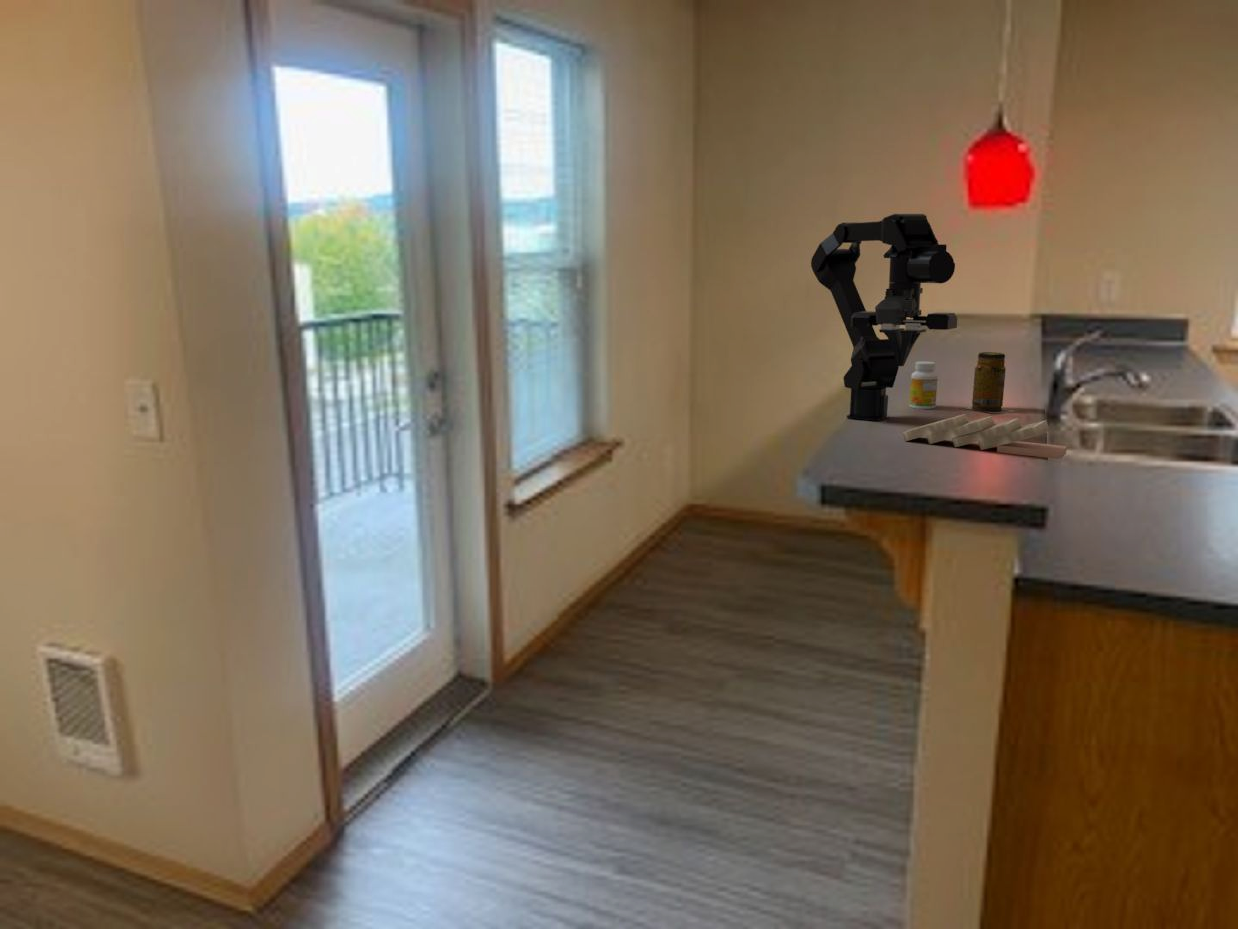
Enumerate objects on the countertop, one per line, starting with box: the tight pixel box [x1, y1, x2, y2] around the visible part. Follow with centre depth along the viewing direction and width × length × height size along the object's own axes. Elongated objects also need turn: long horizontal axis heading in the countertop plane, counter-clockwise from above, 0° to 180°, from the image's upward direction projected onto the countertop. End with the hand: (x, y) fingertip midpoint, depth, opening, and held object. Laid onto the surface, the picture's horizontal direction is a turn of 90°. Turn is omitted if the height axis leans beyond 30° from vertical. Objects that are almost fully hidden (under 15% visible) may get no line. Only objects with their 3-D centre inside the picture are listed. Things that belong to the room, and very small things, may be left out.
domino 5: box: [996, 441, 1068, 460], centre depth 156 cm, size 2×5×10 cm
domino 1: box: [901, 413, 969, 442], centre depth 164 cm, size 2×5×10 cm
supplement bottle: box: [908, 360, 938, 410], centre depth 198 cm, size 5×5×10 cm
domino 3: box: [951, 417, 1022, 448], centre depth 158 cm, size 2×5×10 cm
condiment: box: [961, 351, 1017, 414], centre depth 194 cm, size 7×8×12 cm
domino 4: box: [977, 419, 1050, 451], centre depth 156 cm, size 2×5×10 cm
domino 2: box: [926, 415, 996, 445], centre depth 161 cm, size 2×5×10 cm
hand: (900, 366), depth 176 cm, fingers closed
